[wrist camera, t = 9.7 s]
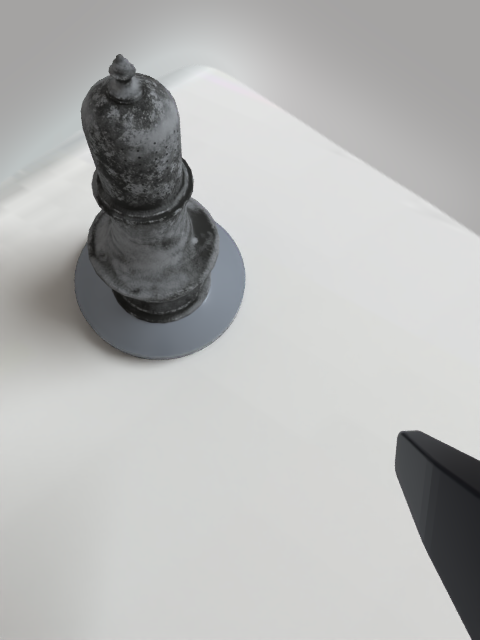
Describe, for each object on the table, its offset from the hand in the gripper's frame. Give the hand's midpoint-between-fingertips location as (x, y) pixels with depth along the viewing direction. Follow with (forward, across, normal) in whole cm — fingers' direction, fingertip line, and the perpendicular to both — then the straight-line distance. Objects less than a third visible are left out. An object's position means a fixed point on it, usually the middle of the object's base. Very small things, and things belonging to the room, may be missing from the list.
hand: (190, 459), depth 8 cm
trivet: (+14, +3, -1) cm, 15 cm away
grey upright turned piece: (+14, +3, -1) cm, 14 cm away
